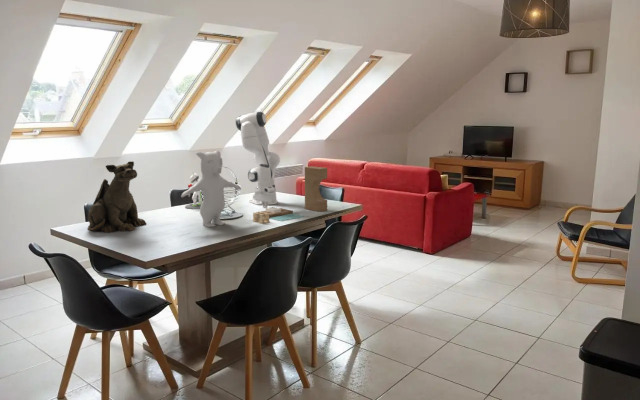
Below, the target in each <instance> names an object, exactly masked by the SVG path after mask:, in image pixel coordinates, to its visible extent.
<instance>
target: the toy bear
mask: <svg viewBox="0 0 640 400" xmlns="http://www.w3.org/2000/svg"><path fill="white" fill-rule="evenodd" d="M195 155H196V156H197V157H199V158H200V172H201V176H200V178H198V180H197V182H196V183H195V184H194V183H193V184H194V186H192V187H190V188H189V189H188V188H187V190H185V191H183V192H182V193H181V195H180V197H181V198H184V197H186V196H188V198H190V197H191V196H192V195H191V194H194V192H196V191H200V190H201V195H202V201H203V202H202V204H201V207H200V209H199V214H200V217H201V218H202V220H203V221H202V226H204V227H205V228H215V227H216V226H224V225H226V222H225V221H222V220H221V215H222V212H223V211H224V210H225V207H226V201H225V191H224V190H225V188H234V189H235V190H237V191H239V190H242V187H241V186H240V185H238V184H236V183H233V182H232V181H229V180H227V179H226V178H224V177H223V176H221V174H222V169H223V158H222V157H221V156H222V155H221V151H220V150H215V151H213V152H212V151H207V152H202V151H196V152H195Z"/></svg>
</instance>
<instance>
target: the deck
mask: <svg viewBox="0 0 640 400" xmlns="http://www.w3.org/2000/svg"><path fill="white" fill-rule="evenodd" d="M279 209H281V212H277V213H272V212H267V211H266V210H262V211H260V212H263V213H267V214H269V218H271V217H277V216H282V215H287V214H294V211H293V210H290V209H287V208H279ZM258 212H259V211H256V212H255V213H258Z"/></svg>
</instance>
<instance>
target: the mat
mask: <svg viewBox="0 0 640 400" xmlns="http://www.w3.org/2000/svg"><path fill="white" fill-rule="evenodd" d="M304 217H305V216H304V215H300V214H295V213H293V214H287V215H282V216H277V217H271V218H269V220H273V221H276V222H277V221H278V222H284V221H290V220H294V219H300V218H304Z"/></svg>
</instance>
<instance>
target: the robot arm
mask: <svg viewBox="0 0 640 400" xmlns="http://www.w3.org/2000/svg"><path fill="white" fill-rule="evenodd" d="M266 124H267V117H266V114H265V113H264V112H263V111H256V112H250V113H246V114H243V115H240V116H238V117H236V119H235V126H236V128H237V130H239V131H240V136H241V143H242V146H243V148H244V149H245V150H246V151H248V152H250V153H253V154H254V155H253V161H254V163H255V164H256V165H257V166H256V167H253V168H250V169H249V170H248V173H247V178H248V180H249V182H251V183H257V186H256V187H255V190H254V193H253V194H252V199H251V200H249V202H250V203H252V204H255V205H259V206H261V205H262V208H263V209H266V208H268V206H269V205H275V204H277V203H278V199H277V192H276V191H277V189H276V185H275V175H276V170H277V167H278V165H280V163H281V158H280V156H279V154H277V153H276V152H274V151H269V144H270V140H269V139H270V138H269V136H268V134H267V133H268V132H267V131H266V127H265V125H266Z"/></svg>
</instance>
